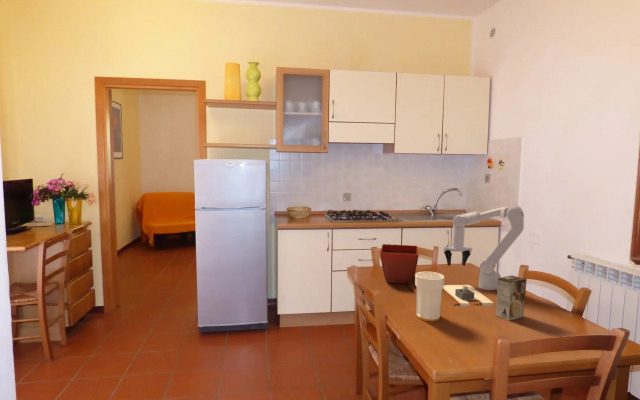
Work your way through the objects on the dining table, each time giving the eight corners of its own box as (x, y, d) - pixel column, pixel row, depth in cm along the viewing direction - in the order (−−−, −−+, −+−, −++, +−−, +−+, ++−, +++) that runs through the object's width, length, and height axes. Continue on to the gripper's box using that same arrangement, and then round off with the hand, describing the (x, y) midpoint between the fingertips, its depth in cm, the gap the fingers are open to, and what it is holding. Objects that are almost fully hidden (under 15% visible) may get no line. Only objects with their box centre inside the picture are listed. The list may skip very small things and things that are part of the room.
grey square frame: (466, 294, 181) (466, 288, 181) (473, 299, 175) (474, 292, 175) (455, 295, 180) (455, 289, 180) (462, 300, 174) (462, 293, 174)
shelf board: (469, 287, 195) (469, 275, 195) (493, 306, 171) (494, 291, 171) (439, 288, 194) (440, 275, 193) (460, 306, 170) (461, 292, 170)
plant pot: (379, 284, 200) (379, 251, 198) (381, 273, 218) (382, 243, 216) (417, 287, 196) (418, 254, 194) (416, 275, 214) (417, 245, 212)
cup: (438, 325, 151) (440, 281, 150) (409, 318, 157) (411, 276, 155) (445, 315, 161) (447, 274, 159) (418, 309, 167) (420, 269, 165)
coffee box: (510, 311, 166) (512, 274, 164) (523, 317, 160) (526, 279, 158) (495, 315, 161) (497, 277, 160) (509, 321, 156) (511, 282, 154)
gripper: (468, 237, 201) (466, 263, 202) (440, 237, 200) (439, 262, 201) (474, 240, 194) (472, 267, 195) (446, 240, 193) (444, 266, 194)
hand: (456, 265), depth 198 cm, fingers open, 7 cm apart
